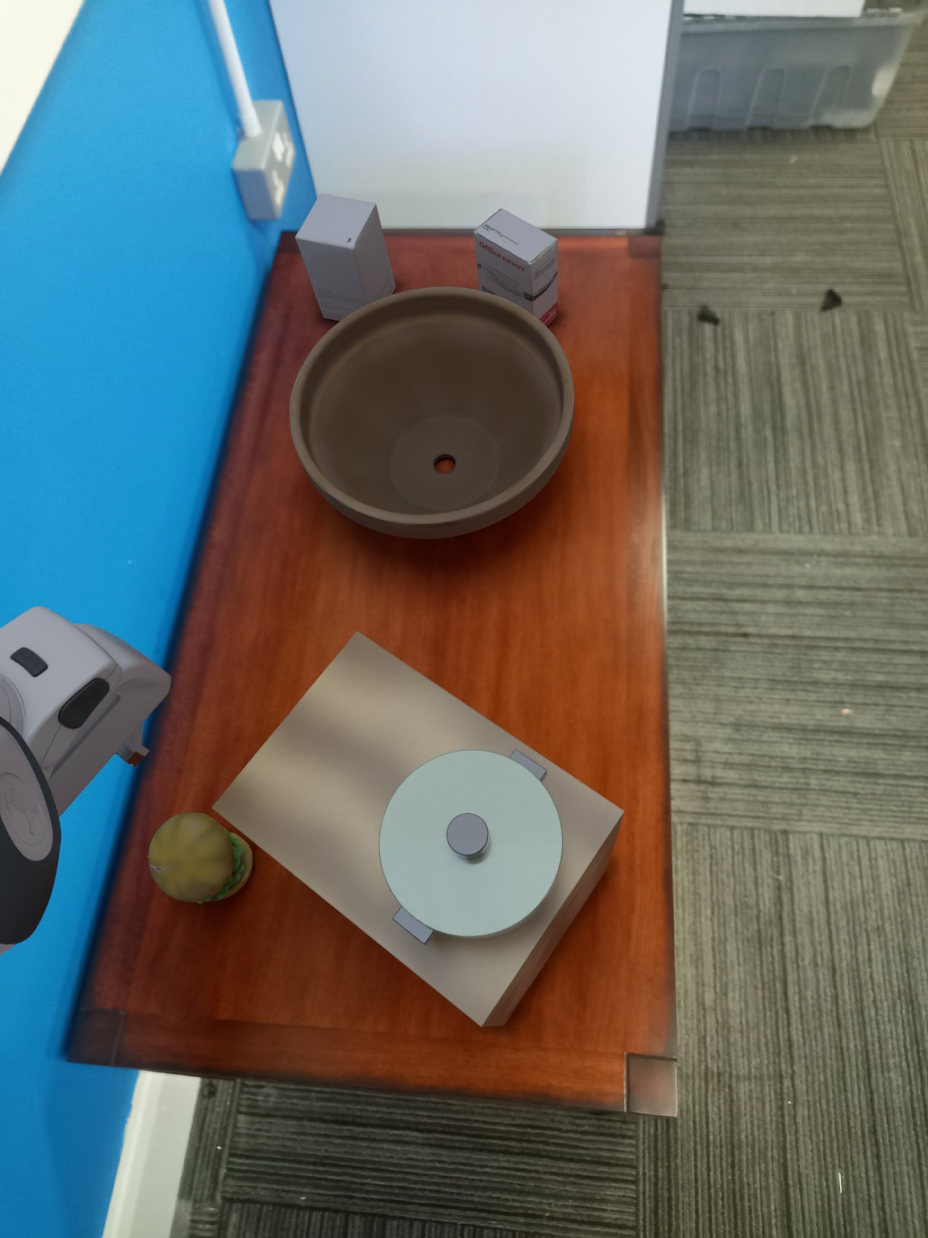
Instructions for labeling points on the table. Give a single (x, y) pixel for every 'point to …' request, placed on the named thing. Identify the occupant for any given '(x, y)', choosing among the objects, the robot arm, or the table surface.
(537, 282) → the ink box
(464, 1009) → the stand
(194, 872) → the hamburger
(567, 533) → the table surface
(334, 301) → the white packaging box
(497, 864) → the pot
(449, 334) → the flower pot
